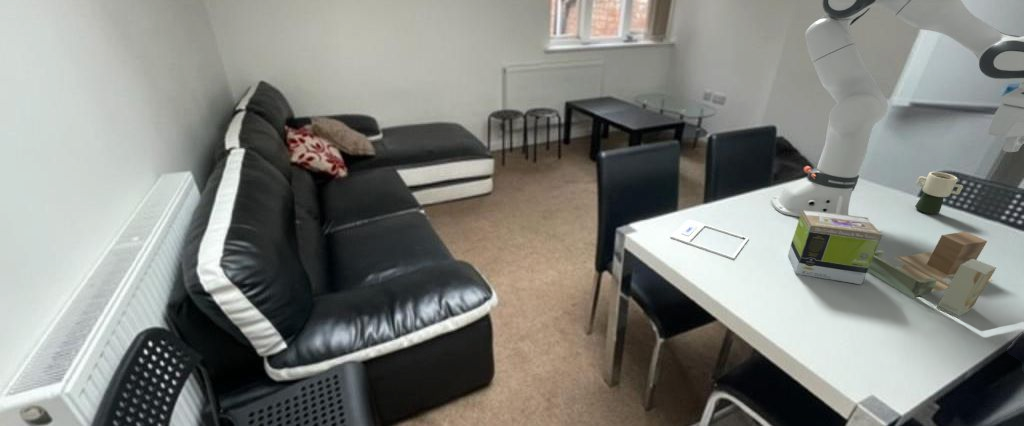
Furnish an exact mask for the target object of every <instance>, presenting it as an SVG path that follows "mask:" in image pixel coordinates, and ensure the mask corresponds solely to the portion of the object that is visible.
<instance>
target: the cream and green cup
mask: <svg viewBox="0 0 1024 426" xmlns="http://www.w3.org/2000/svg"><path fill="white" fill-rule="evenodd" d="M923 180H924V182H923V183H921V182H922V181H923ZM958 180H959V178H958V177H957V176H955V175H954V174H949V173H946V172H943V171H942V172H940V171H930V172H929V173H928V174H927V177H926V176H923V175H921V176H919V177H918V179H917V181H916V183H915V185H916V186H918V187H922V192H923V194H922V195H921V196H920V198H919V199H918V201H917V202H916V204H915V205H914V206H915V208H916V209H917V210H918V211H921V212H923V213H926V214H939V213H940V212H941V209H942V206H943V202H944V198H947V197H949V196H951V194H952V195H959V194H961V191H962V189H963V187H964V186H963V185H962V184H958V183H957V182H958ZM954 188H957V189H956V190H954Z"/></svg>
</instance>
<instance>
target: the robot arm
mask: <svg viewBox="0 0 1024 426" xmlns="http://www.w3.org/2000/svg"><path fill="white" fill-rule="evenodd" d="M871 8H880V9H883V10H885V11H886V12H888V13H890V14H891V15H893V16H894V17H895V18H897V19H899V20H900V21H901V22H903V23H905V24H907V25H909V26H912V27H913V28H916V29H918V30H919V29H920V30H923V31H930V32H935V33H939V34H943V35H945V36H948V37H949V38H951V39H953V40H954V41H955V42H957V43H959V44H960V45H961V46H963V47H964V48H966V49H968V50H969V51H970V52H972V53H973V54H974V55H975V57H977V59H978V67H979V70H980V71H981V73H982V74H983V75H985V76H986V77H988V78H990V79H992V80H1009V79H1010V80H1011V79H1021V82H1020V83H1019V86H1018V87H1016V88H1014V89H1013V90H1011V91H1010V92H1008V93H1005V94H1003V95H1002V96H1001V98H1000V100H999V104H1002V105H1000V106H999V107H998V108H997V110H996V111H995V113H994V115H993V117H992V119H991V121H990V123H989V126H988V128H987V131H988V132H987V133H988V135H989V136H990V135H991V136H995V137H999V138H1005V142H1004V143H1005V144H1004V146H1003V148H1002V151H1003V152H1007V153H1014V152H1019V150H1020V148H1021V147H1022V146H1023V144H1024V35H1023V36H1020V35H1015V34H1014V35H1012V34H1006V33H1003V32H1001V31H999V30H998V29H996V28H994V27H993V26H991V25H989V23H987V22H985V21H983V20H982V19H980V18H979V17H977V16H975V15H974V14H973V13H972V12H971V11H970V10H969V9H968V8H967V7H966V6H965V4H964V2H963V0H822V10H823V11H824V12H825V13H824V15H823V16H821V18H820V19H818V20H816V21H815V22H813V23H812V24H810V25H809V27H808V28H807V29H806V31H805V35H804V38H805V43H806V49H807V52H808V55H809V58H810V60H811V63H812V65H813V67H814V70H815V72H816V74H817V76H818V78H819V81H820V83H821V85H822V87H823V88H824V89H825V90H826V91H827V92H828V93H829V94H830V96H831V98H833V100H834V101H835V105H834V106H833V107H832V109H831V110H830V113H829V115H828V124H827V129H826V133H825V135H826V136H825V142H824V146H823V148H822V151H821V155H820V158H819V161H818V164H817V166H816V167H814V168H811V166H809V165H806V166H804V167H803V171H804V172H805V173H806V174H807V177H804V178H802V179H799V180H797V181H793V182H791V183H789V184H786V185H784V187H783V189H782V191H781V193H780V194H779V195H773V196H772V197H771V199H770V203H771V205H772V207H773V208H774V209H775V210H776V211H778V212H779V213H781V214H782V215H788V216H794V217H799V218H800V215H801V212H802V210H808V211H817V212H825V213H834V214H841V215H849V207H850V202H851V197H852V194H853V192H854V190H855V188H856V186H857V184H858V181H859V177H860V175H859V173H860V171H861V167H862V166H863V162H864V160H865V159H866V156H867V153H868V146H869V142H870V138H871V135H872V131H873V128H874V127H875V125H876V124H877V123H878V122H879V121H881V120H883V119H884V117H885V116H886V114H887V112H888V109H889V104H888V100H887V98H886V96H885V95H883V92H882V91H881V89H880V88H879V86H878V83H877V82H876V80H875V79H874V78H873V76H872V75H871V74H870V72H869V71H868V69H867V67H866V65H865V63H864V60H863V58H862V56H861V54H860V51H859V50H858V47H857V45H856V43H855V40H854V39H853V36H852V33H851V30H850V29H851V28H850V26H852V24H855V22H856V21H857V20H859V19H860V18H861V17H863V16H864V15H865V14H866V13H867V12H868V11H869V10H870V9H871Z"/></svg>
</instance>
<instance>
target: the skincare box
mask: <svg viewBox="0 0 1024 426" xmlns="http://www.w3.org/2000/svg"><path fill="white" fill-rule="evenodd" d="M996 269H997V267H995V266H992V265H990V264H988V263H985V262H982V261H979V260H978V259H977V260H975V259H971V260H969V261H966V262H965V263H963V264H961V265H960V267H959V268H958V270H957V272H956V274H955V276H952V279H951V280H950V282H949V283H950V284H949V286H948V288H947V289H945V290H944V291H945V292H944V294H943V295H942V297H941V298H940V300H939V302H938V304H937V306H936V309H937V310H939V311H941V312H943V313H945V314H948V315H950V316H953V317H955V318H957V319H959V317H958V316H960V317H961V316H963V315H964V314H966V313H967V312H969V311H970V310H971V309H972V308H973V307H974V306H975V304H976V302H977V300H978V299H979V297H980V296H981V294H982V293H983V291H984V289H985V287H986V285H988V282H990V281H989V279H992V276H993V275H994V274H995V271H996ZM950 312H951V313H950ZM952 313H953V314H952ZM956 315H957V316H956Z"/></svg>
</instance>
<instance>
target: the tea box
mask: <svg viewBox="0 0 1024 426" xmlns="http://www.w3.org/2000/svg"><path fill="white" fill-rule="evenodd" d="M795 228H796V229H795V232H794V234H793V238H792V241H791V243H790V247H789V250H788V253H787V256H788V259H789V261H790V264H791V266H792V268H793V272H794V273H795V274H796V275H801V276H808V277H815V278H821V279H825V280H832V281H839V282H846V283H851V284H856V285H862V284H863V283H864V280H865V277H866V276H867V273H868V268H869V266H870V263H871V261H872V259H873V256H874V254H875V251H877V248H878V246H879V244H880V241H881V240H882V236H883V234H882V233H881V231H879V230H878V228H876V226H875V225H874V224H873V223H872V222H871V221H870V219H869V217H865V216H858V215H857V216H856V215H849V214H848V215H841V214H834V213H825V212H817V211H808V210H802V212H801V215H800V217H799V219H798V222H797V226H796V227H795Z"/></svg>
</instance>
